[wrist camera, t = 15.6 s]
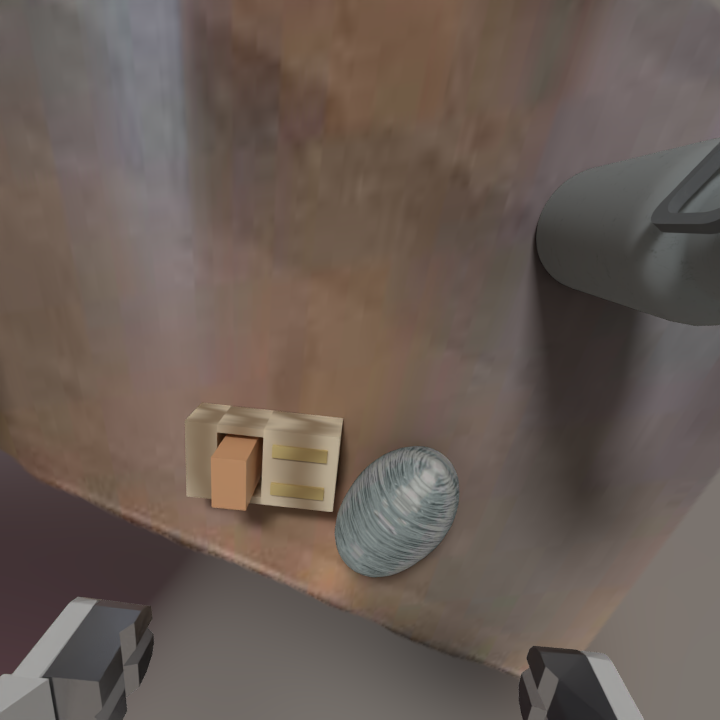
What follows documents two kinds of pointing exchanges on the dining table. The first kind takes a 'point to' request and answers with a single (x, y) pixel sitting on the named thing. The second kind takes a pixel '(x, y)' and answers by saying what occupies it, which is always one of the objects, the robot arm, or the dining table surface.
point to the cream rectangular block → (269, 453)
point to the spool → (397, 511)
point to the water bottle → (641, 233)
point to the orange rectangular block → (236, 471)
